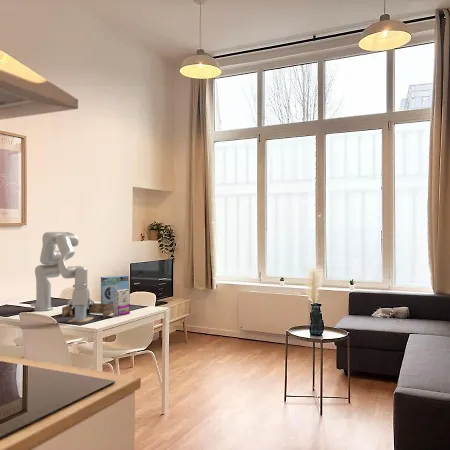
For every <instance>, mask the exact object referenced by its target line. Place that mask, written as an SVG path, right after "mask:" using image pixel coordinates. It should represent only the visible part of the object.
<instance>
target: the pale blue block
mask: <svg viewBox="0 0 450 450" xmlns="http://www.w3.org/2000/svg"><path fill="white" fill-rule="evenodd" d="M86 317H87V315H86V306H75V316H74V318H75V321H81V320H83V319H85V318H86Z"/></svg>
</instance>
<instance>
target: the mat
mask: <svg viewBox="0 0 450 450" xmlns="http://www.w3.org/2000/svg"><path fill="white" fill-rule="evenodd" d="M93 319H94V317H92V316H91V317H90V316H86V318H85V319H83V320H81V321H75V317H73V318H71V319H68V320H67V323H88V322H90V321H91V320H93Z"/></svg>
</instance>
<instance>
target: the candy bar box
mask: <svg viewBox="0 0 450 450" xmlns="http://www.w3.org/2000/svg"><path fill="white" fill-rule="evenodd" d="M130 294H131V291H130V289H129V288H128V289H122V290H117V291H113V313H112V314H113V316H114V317H121V316H125V315H129V314H131V305H130V304H131V302H130V301H131V298H130V296H131V295H130Z"/></svg>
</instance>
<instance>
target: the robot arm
mask: <svg viewBox="0 0 450 450" xmlns="http://www.w3.org/2000/svg"><path fill="white" fill-rule="evenodd" d="M41 239H42V247H41V252H40V257H39V262H40V263H41V264H39V265H37V266H36V267H35V268H34V275H35V280H36V281H35V284H36V286H35V288H36V289H35V291H36V293H35V297H36V298H35V303H31V304H30V306H31V307H34V308H33V311H35V312H36V311H37V312H43V311H44V312H46V311H51V310H54V307H53V306H52V304H51V303H52V302H51V301H52V300H51V299H52V285H51V282H50V280H49V279H51V278H58V277H59V276H60V275H61V277H62V278H63V279H74V284H72V288H74V289H73V290H72V296H71V299H70V300H68V301H67V304H68V305H69V306H70V307H71V308H72V314H73V315H75V306H86V307H87V309H86V316H90V314H91V312H90V308H91V307H92V306H93V304H94V303H95V301H94V300H93V299H91V297H90V291H89V288H88V268H87V267H85V266H81V265H75V266H72V265H70V266H67V265H66V263H65V262H66V261H68V260H70V259H71V258H73V257H74V255H75V253H76V252H75V250H74V247H77V246H78V245H79V237H78V235H76V234H75V233H72V232H68V231H46V232H44V233H43V234H42V238H41ZM56 246H57V249H58V250H56ZM89 303H91V305H89Z"/></svg>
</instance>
